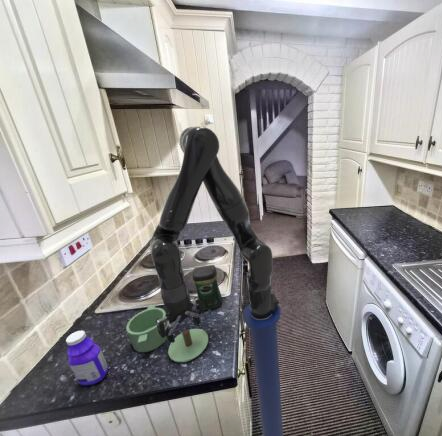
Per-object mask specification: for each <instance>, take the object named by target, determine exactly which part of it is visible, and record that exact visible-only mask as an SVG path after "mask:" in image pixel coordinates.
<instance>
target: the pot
mask: <svg viewBox="0 0 442 436" xmlns="http://www.w3.org/2000/svg"><path fill="white" fill-rule="evenodd" d="M165 316H166V310H164V309H163V308H162V307H156V304H151V305H148V306H147V309H144V310H142V311H140V312H138V313H136V314H135V315H134V316H132V317H131V318H130V320H129V321H128V322H127V323H126V327H125V329H126V332H127V335H128V337H129V340H130V343H131V345H132V348H133V350H135V351H136V352H137V353H148V352H151V351H154V350H156V349H157V348H159V347H161V346H162V345H164V344H165V342H167V341H168V339H167V336H165V337H164V338H162V337H161V336H160V335H159V333H158V329H157V324H156V319H157V318H160V319H162V318H163V317H165ZM167 322H168V320H167V321H166V323H165V326H164V328H165V329H166V327H167Z"/></svg>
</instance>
